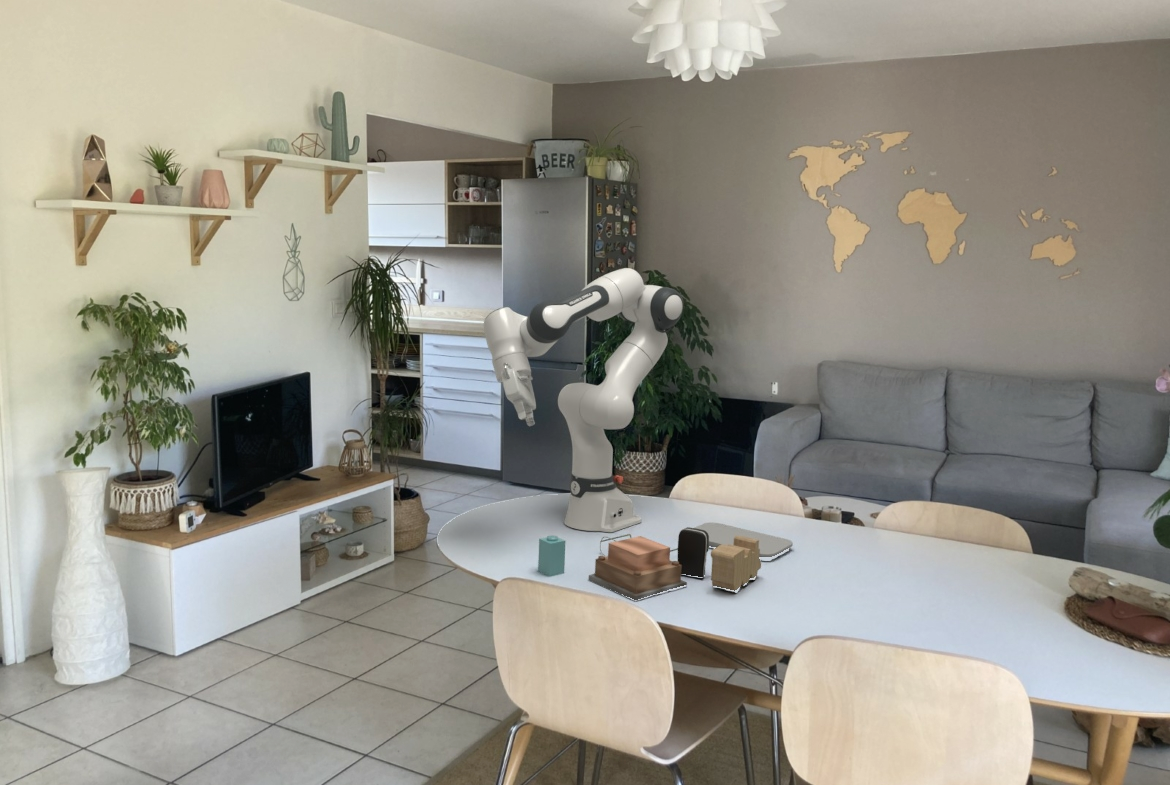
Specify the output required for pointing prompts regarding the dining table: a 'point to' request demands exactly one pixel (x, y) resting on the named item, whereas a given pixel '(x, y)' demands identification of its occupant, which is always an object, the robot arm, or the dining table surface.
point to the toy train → (735, 563)
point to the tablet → (727, 533)
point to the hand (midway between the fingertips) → (527, 422)
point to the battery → (693, 551)
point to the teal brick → (551, 556)
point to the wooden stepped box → (637, 568)
